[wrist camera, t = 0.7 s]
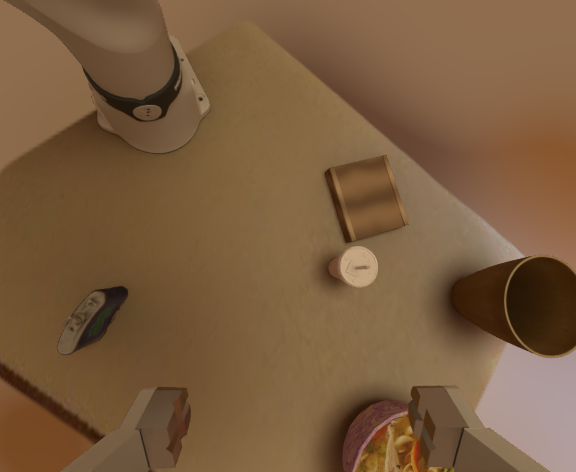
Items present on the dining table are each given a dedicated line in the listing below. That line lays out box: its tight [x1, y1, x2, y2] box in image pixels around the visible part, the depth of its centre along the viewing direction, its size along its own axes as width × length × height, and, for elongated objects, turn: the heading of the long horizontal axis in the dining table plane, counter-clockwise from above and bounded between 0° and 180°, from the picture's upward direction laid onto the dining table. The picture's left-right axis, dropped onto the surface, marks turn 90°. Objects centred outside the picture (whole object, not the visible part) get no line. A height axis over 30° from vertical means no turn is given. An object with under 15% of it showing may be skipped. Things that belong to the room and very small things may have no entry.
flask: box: [57, 286, 128, 355], centre depth 42 cm, size 9×3×11 cm, turn 152°
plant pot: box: [452, 255, 576, 358], centre depth 52 cm, size 15×15×16 cm
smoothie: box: [328, 246, 378, 287], centre depth 48 cm, size 6×6×14 cm
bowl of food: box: [342, 400, 455, 472], centre depth 47 cm, size 20×20×12 cm
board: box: [325, 155, 409, 243], centre depth 57 cm, size 14×12×3 cm
